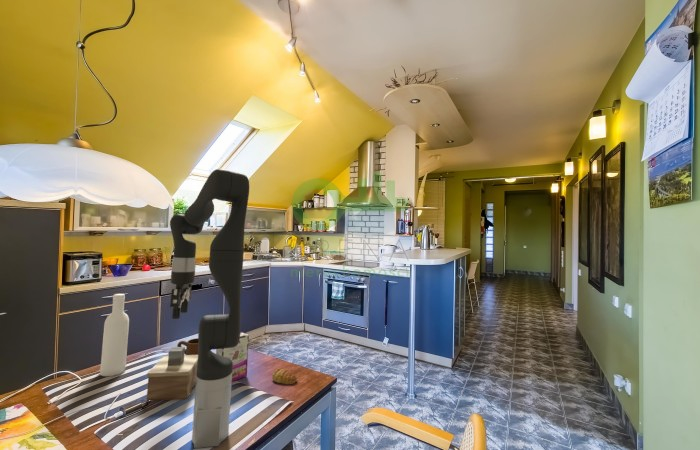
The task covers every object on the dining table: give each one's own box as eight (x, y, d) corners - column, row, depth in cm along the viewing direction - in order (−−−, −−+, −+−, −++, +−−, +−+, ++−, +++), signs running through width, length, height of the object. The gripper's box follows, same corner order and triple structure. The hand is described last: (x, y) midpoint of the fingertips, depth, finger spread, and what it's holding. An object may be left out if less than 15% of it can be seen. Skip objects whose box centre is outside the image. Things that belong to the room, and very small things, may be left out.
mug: (170, 366, 126) (172, 343, 126) (181, 358, 134) (182, 337, 134) (199, 367, 126) (201, 344, 126) (208, 360, 133) (209, 338, 134)
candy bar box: (239, 372, 123) (242, 331, 124) (247, 376, 120) (249, 334, 121) (213, 382, 114) (216, 338, 115) (220, 386, 111) (223, 341, 112)
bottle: (119, 376, 115) (125, 296, 116) (95, 377, 114) (101, 296, 115) (129, 367, 123) (135, 292, 124) (107, 368, 121) (113, 292, 123)
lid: (188, 377, 102) (190, 356, 102) (146, 379, 99) (148, 357, 100) (200, 360, 116) (201, 341, 117) (163, 361, 114) (165, 342, 114)
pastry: (300, 379, 120) (300, 370, 120) (290, 387, 114) (291, 377, 114) (279, 374, 123) (280, 365, 124) (269, 382, 117) (270, 372, 117)
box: (186, 399, 102) (188, 374, 102) (146, 401, 99) (148, 376, 100) (197, 379, 116) (199, 358, 116) (162, 381, 113) (164, 359, 113)
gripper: (188, 272, 103) (185, 320, 103) (200, 268, 117) (197, 310, 117) (164, 272, 102) (160, 320, 101) (178, 267, 116) (175, 310, 115)
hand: (180, 315), depth 109 cm, fingers open, 8 cm apart
